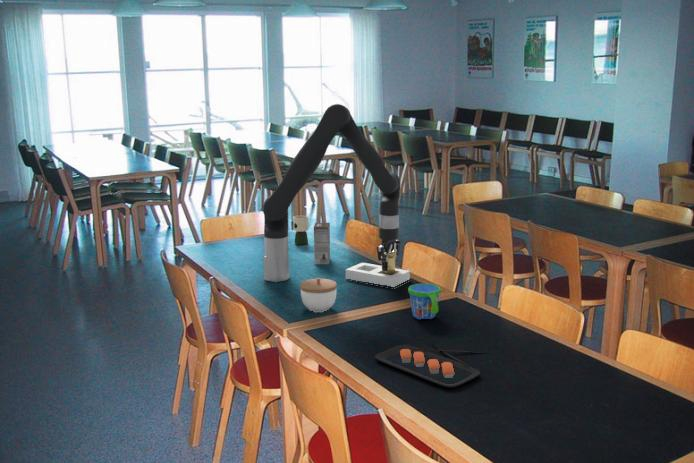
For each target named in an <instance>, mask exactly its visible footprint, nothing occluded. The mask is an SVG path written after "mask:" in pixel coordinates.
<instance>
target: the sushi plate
mask: <svg viewBox="0 0 694 463" xmlns="http://www.w3.org/2000/svg"><path fill="white" fill-rule="evenodd" d="M411 351H413V352H414V353H413V358H414V365H415V366H416V367H424V364H425V357H424V355H426V356H427V357H428V356H429V357H430V358H433V359H429V360H428V361H427V364H428V367H429V371H430V373H431V374H439V368H440V364H439V361H441V362H443V363H441V367H442V373H443V376H444V378H453V376H454V375H455V372H454V368H453V365H454V366H456V367H458V368H461V369H464V370H466V371H469V372H471V373H472V374H471V375H470V376H469V377H467V378H465V379H463V380H461V381H459V382H457V383H454V384H445V383H442V382H439V381H437V380H434V379H432V378H429V377H427V376H424V375H422V374H420V373H417V372H415V371H412V370H410V369H408V368H405V367H403V366H400V365H398V364H395V363H392V362H390V361H388V360H386V359H387V357H390V356H393V355H396V354H397V353H400V356H401V359H402V363H411V357H412V354H411ZM440 351H442V352H443V354H444V353H445V354H444V355H446V354H447V355H446V356H448V357H450V358H452V359H450V358H448V357H445V356H442V355H439V354H436V353H434V352H440ZM469 351H470V350H468V351H467V350H452V349H451V350H448V349H441V350H436V349H434V348H433V349H429V348H420V347H417V346H414V345H410V344H400V345H396V346H393V347H391V348H388V349H385V350H384V351H381V352H378V353H377V354H375V356H374V358H375V359H376V360H377V361H379V362H381V363H383V364H386V365H388V366H390V367H393V368H396V369H398V370H401V371H403V372H405V373H407V374H411V375H413V376H416V377H418V378H421V379H424V380H426V381H429V382H430V383H434V384H436V385H439V386H442V387H445V388H456V387H459V386H461V385H463V384H466V383H468V382H470V381H472V380H474V379H476V378H477V377H479V376H480V374H481V371H480V370H479V369H477V368H474V367H473V366H470V365H469V364H468V363H467V364H466V363H465V362H464V361H461V359H460V360H459V359H458V358H456V357H455V356H453V355H451V354H449V353H458V352H469ZM442 352H441V353H442ZM438 360H439V361H438ZM455 360H456V361H455Z"/></svg>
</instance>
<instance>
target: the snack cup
mask: <svg viewBox="0 0 694 463" xmlns="http://www.w3.org/2000/svg"><path fill="white" fill-rule="evenodd" d="M407 292H408V293H409V297H410V306H411V313H412V317H414V318H415V319H417V320H421V319H430V320H432V319H434V318H435V317H436V316H437V314H438V313H439V298H440V296H439V295H440V294H441V292H442V289H441V287H440V286H439V285H436V284H432V283H415V284H412V285H410V286H408V289H407Z"/></svg>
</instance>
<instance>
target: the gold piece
mask: <svg viewBox="0 0 694 463" xmlns="http://www.w3.org/2000/svg"><path fill="white" fill-rule="evenodd" d="M385 253H386V252H385ZM395 256H396V252H393V251H392V252H390V254H389V256H388V261H387V262H388V271H383V270H382V274H386V275H394V274H395V268H396V258H395ZM396 257H397V256H396ZM385 258H386V255H385Z"/></svg>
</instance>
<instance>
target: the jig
mask: <svg viewBox="0 0 694 463" xmlns="http://www.w3.org/2000/svg"><path fill="white" fill-rule="evenodd" d="M347 279H351V280H350V281H352V280H356V281H355V282H357V281H362V282H369V283H374V284H380V285H387V286H391V287H395V286H397V285H399V284H401V283H403V282H405V281H407V280H409V279H410V280H411V271H410V270H408V269H401V268H396V267H395V274H394V275H386V274H382V265H378V264H372V263H368V262H360V263H358V264H356V265H353V266H350V267H348V268H346V269H345V280H347ZM362 282H361V283H362Z"/></svg>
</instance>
